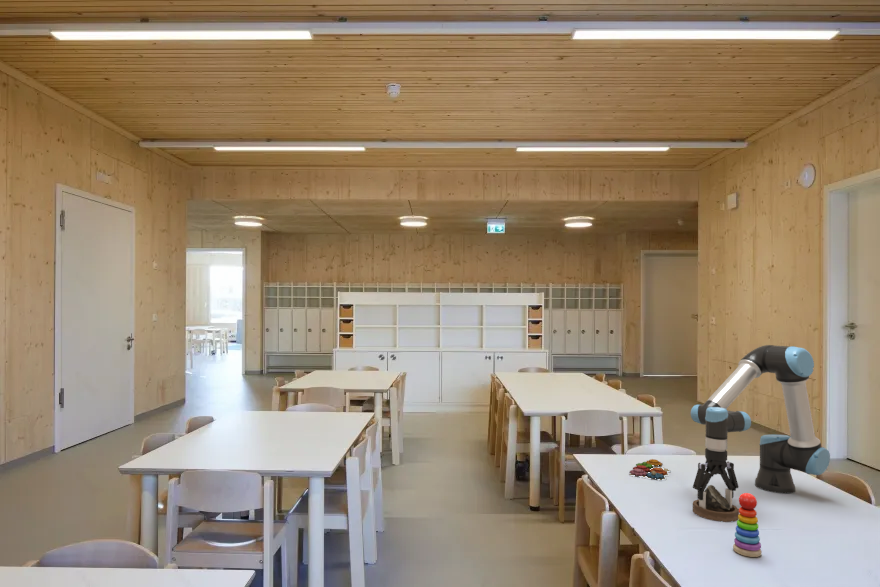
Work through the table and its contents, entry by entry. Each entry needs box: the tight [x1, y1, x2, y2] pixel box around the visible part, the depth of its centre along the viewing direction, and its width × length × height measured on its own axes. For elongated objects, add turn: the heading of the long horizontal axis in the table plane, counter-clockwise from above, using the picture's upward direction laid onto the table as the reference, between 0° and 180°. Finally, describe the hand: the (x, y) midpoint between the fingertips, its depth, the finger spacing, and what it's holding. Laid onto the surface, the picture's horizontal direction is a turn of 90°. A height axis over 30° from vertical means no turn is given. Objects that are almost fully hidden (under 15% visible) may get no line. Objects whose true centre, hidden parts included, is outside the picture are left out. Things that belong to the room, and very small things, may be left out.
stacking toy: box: [732, 492, 762, 558], centre depth 178 cm, size 8×8×19 cm
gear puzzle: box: [629, 458, 670, 480], centre depth 268 cm, size 31×16×4 cm, turn 150°
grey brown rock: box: [704, 484, 730, 512], centre depth 211 cm, size 11×9×10 cm
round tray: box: [692, 498, 740, 523], centre depth 211 cm, size 15×15×3 cm
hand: (715, 507), depth 211 cm, fingers closed on grey brown rock, 11 cm apart
